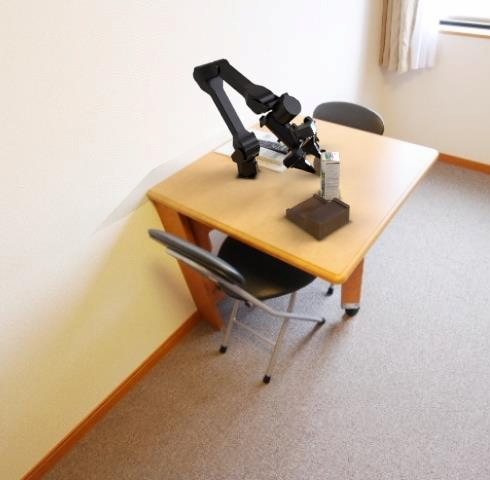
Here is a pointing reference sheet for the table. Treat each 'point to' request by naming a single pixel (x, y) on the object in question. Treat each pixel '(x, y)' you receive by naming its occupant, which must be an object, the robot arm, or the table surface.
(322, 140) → the table surface
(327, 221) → the dark brown boxy piece
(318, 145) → the end cap
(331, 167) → the syrup box
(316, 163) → the vase
